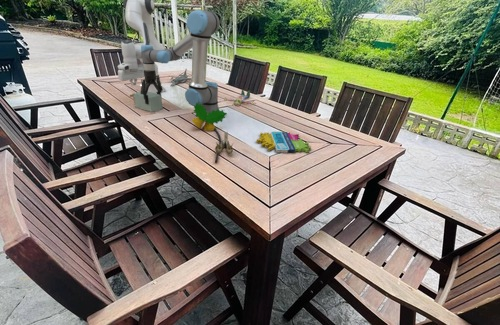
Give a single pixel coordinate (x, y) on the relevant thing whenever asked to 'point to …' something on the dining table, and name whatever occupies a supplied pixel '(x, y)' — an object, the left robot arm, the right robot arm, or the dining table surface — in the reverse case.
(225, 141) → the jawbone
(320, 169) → the dining table surface
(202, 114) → the ornament
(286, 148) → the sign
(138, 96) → the grey-green rectangular block
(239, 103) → the toy
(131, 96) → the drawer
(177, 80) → the airplane
